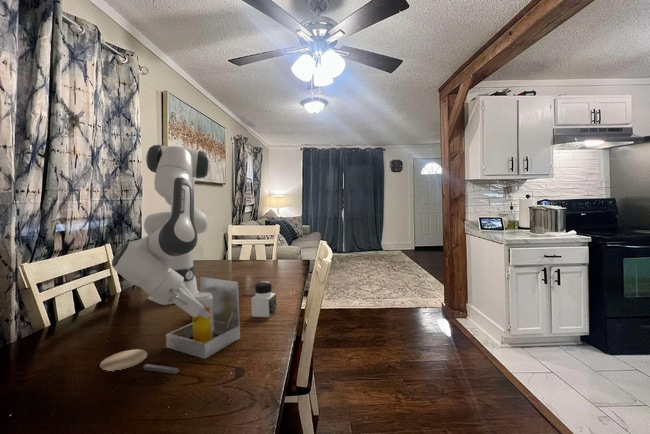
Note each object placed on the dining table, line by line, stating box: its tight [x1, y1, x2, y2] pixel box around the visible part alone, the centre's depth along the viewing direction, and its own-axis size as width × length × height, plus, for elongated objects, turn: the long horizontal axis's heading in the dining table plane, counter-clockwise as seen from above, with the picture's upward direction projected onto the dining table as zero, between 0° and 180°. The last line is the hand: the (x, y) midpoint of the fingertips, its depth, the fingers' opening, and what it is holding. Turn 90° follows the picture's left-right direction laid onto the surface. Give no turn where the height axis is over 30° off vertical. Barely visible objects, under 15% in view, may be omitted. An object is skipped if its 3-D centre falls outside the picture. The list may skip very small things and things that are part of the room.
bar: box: [142, 363, 180, 375], centre depth 81 cm, size 10×1×1 cm, turn 75°
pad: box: [99, 348, 148, 372], centre depth 86 cm, size 11×11×1 cm
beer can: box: [191, 292, 216, 343], centre depth 96 cm, size 6×6×15 cm
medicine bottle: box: [250, 281, 277, 318], centre depth 119 cm, size 7×7×12 cm
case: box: [165, 276, 241, 359], centre depth 96 cm, size 16×14×18 cm
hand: (205, 312), depth 96 cm, fingers closed on beer can, 6 cm apart
